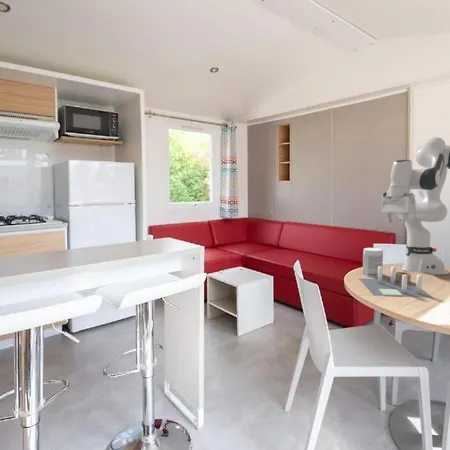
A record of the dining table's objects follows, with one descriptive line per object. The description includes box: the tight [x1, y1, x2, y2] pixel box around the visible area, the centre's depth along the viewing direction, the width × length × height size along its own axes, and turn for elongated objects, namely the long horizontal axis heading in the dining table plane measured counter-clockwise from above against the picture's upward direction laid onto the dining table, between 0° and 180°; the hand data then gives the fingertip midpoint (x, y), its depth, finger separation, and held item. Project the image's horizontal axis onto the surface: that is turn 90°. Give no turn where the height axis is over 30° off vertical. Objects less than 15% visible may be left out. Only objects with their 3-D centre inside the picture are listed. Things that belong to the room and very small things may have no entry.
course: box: [358, 266, 434, 299], centre depth 156 cm, size 24×26×9 cm
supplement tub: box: [362, 247, 384, 278], centre depth 178 cm, size 10×10×15 cm
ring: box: [395, 271, 411, 283], centre depth 165 cm, size 6×6×4 cm
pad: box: [379, 289, 403, 297], centre depth 148 cm, size 8×8×1 cm
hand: (395, 223), depth 159 cm, fingers open, 8 cm apart
